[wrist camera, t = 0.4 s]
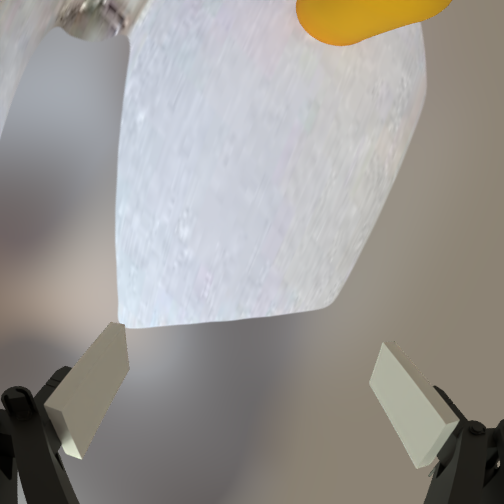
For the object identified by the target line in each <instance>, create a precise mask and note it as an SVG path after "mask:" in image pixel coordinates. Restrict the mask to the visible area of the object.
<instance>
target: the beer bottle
mask: <svg viewBox="0 0 504 504" xmlns="http://www.w3.org/2000/svg"><path fill="white" fill-rule="evenodd" d="M451 1H452V0H297V2H296V13H297V17H298V19H299V22H300V24H301V25H302V27H303V28H304V29H305V30H306V31H307V32H308V33H309V34H310V35H311V36H312V37H314V38H315V39H317V40H319V41H321V42H323V43H326V44H330V45H335V46H346V45H352V44H355V43H358V42H360V41H362V40H364V39H367V38H370V37H372V36H375V35H378V34H381V33H384V32H387V31H390V30H393V29H396V28H399V27H402V26H406V25H409V24H412V23H416V22H421V21H424V20H426V19H428V18H431V17H433V16H435V15H437V14H438V13H440V12H441V11H442V10H443V9H445V8H446V7H447V6H448V5H449V4H450V2H451Z"/></svg>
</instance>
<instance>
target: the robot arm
mask: <svg viewBox="0 0 504 504" xmlns="http://www.w3.org/2000/svg"><path fill="white" fill-rule="evenodd" d="M128 371H129V361H128V353H127V344H126V335H125V324H119V323H113V322H111V323H110V324H109V325H108V326H107V327H106V328H105V330H104V331H103V332H102V333H101V334H100V335H99V337H98V338H97V339H96V340H95V341H94V342H93V344H92V345H91V346H90V347H89V349H88V350H87V351H86V352H85V353H84V354H83V356H82V357H81V358H80V359H79V361H78V362H77V363H76V364H75V365H74V367H73V368H71V367H67V366H64V367H63V368H61V369H59V370H57V371H56V372H55V373H54V374H53V375H52V377H51V378H50V379H49V380H48V381H47V382H46V385H44V386H43V387H42V389H41V390H40V391H39V392H38V393H37V394H36V396H35V397H34V398H33V396H32V394H31V392H30V391H29V390H28V389H27V388H24V387H22V386H15V387H11V388H9V389H7V390H6V391H4V393H3V394H2V397H1V401H2V403H3V405H4V407H5V410H3V409H0V504H18V501H17V500H18V498H17V472H19V476H20V480H21V484H22V488H23V491H24V495H25V498H26V501H27V504H79V501H78V499H77V497H76V495H75V493H74V490H73V488H72V486H71V483H70V481H69V478H68V476H67V474H66V471H65V468H64V466H63V463H62V460H61V457H60V455H59V453H58V450H59V448H60V446H61V445H62V447H63V449H64V451H65V453H66V454H68V455H71V456H74V457H76V458H79V459H83V457H84V455H85V453H86V451H87V449H88V447H89V445H90V443H91V441H92V439H93V437H94V435H95V433H96V431H97V429H98V427H99V425H100V423H101V421H102V419H103V418H104V416H105V414H106V412H107V410H108V408H109V406H110V404H111V402H112V400H113V398H114V397H115V395H116V393H117V391H118V389H119V387H120V385H121V384H122V382H123V380H124V378H125V376H126V375H127V373H128ZM369 384H370V386H371V387H372V389H373V391H374V393H375V395H376V396H377V398H378V400H379V402H380V403H381V405H382V407H383V409H384V411H385V412H386V414H387V415H388V418H389V419H390V421H391V423H392V425H393V427H394V428H395V430H396V432H397V434H398V436H399V437H400V439H401V441H402V443H403V445H404V446H405V449H406V450H407V452H408V454H409V456H410V458H411V460H412V461H413V464H414V465H415V467H416V469H417V468H420V467H424V466H427V465H430V464H431V463H432V461H433V460H434V458H435V457H436V456H437V457H438V459H439V460H440V461H439V462H438V463H437V465H436V466H435V467H434V469H433V470H432V471H431V472H430V474H429V477H430V476H431V475H432V474H433V473H434V474H433V478H432V481H431V484H430V487H429V490H428V493H427V496H426V499H425V501H424V504H504V419H503V420H501V421H500V423H499V424H498V426H497V427H496V428H487V429H486V427H485V426H484V425H483V424H482V423H480V422H478V421H473V420H471V421H468V420H467V419H466V418H465V417H464V415H463V414H462V413H461V412H460V410H459V409H458V408H457V407H456V405H455V404H453V402H452V401H451V399H449V397H448V396H447V395H446V393H445V392H444V391H443V390H441V389H440V388H438V387H437V386H432V385H431V384H430V382H429V381H428V380H427V379H426V378H425V377H424V375H423V374H422V373H421V372H420V371H419V369H418V368H417V367H416V366H415V365H414V363H413V362H412V361H411V360H410V359H409V357H408V356H407V355H406V354H405V353H404V352H403V350H402V349H401V348H400V347H399V346H398V345H397V344H396V342H395V341H394V342H383V343H382V346H381V349H380V352H379V355H378V358H377V362H376V364H375V367H374V371H373V373H372V376H371V379H370V382H369ZM499 460H500V466H499V467H497V463H498V461H499Z"/></svg>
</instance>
